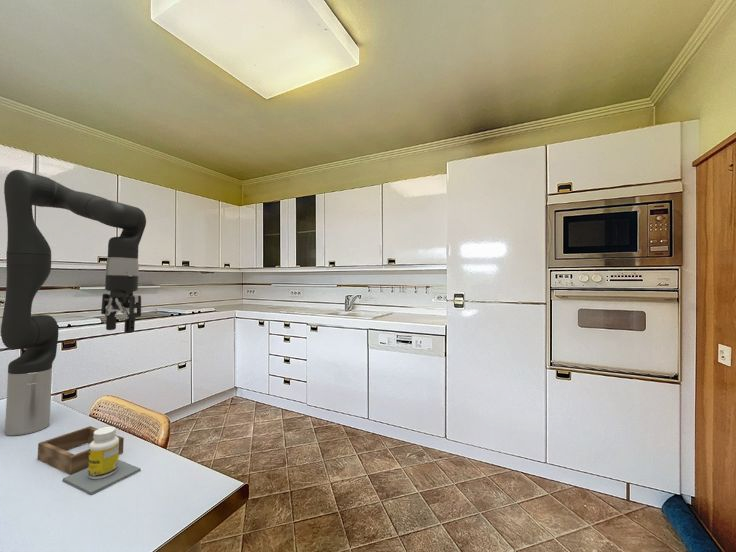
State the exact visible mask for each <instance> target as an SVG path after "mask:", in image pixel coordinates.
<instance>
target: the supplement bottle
mask: <svg viewBox="0 0 736 552" xmlns="http://www.w3.org/2000/svg"><path fill="white" fill-rule="evenodd" d="M97 429H98V430H96V431H94V436H93V439H94V441H92V442H91V443H90V444H89V446H88V449H89V463H88V477H89V478H91V479H101V478H105V477H108V476H110V475H112V474H114V473H115V472H116V471H117V469H118V460H119V456H120V455H119V438H118V437H117V436H118V435H117V436H115V435H116V427H115V426H104V427H100V428H97Z"/></svg>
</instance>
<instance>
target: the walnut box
mask: <svg viewBox="0 0 736 552" xmlns="http://www.w3.org/2000/svg"><path fill="white" fill-rule="evenodd" d="M98 429H99V428H97V427H94V426H91V425H89V426H86V427H83V428H80V429H77V430H74V431H71V432H69V433H64V434H62V435H59V436H56V437H53V438H50V439H46V440H44V441H41V442H38V445H37V459H36V460H37V461H40V462H41V463H44V464H46V465H48V466H50V467H53V468H54V469H57V470H59V471H61V472H63V473H65V474H67V475H68V476H70V475H72V474H74V473H77V472H79V471H81V470H84V469H86V468H88V463H89V448H88V449H86V450H83V451H80V452H78V453H72V452H69V450H72V449H75V448H78V447H80V446H83V445H86V444H89V445H90V443H91V442H92V441H94V439H93V436H94V431H96V430H98ZM115 436H117V437H118V438H119V455H118V456H120V455H122V453H123V454H124V441H125V439H124V437H123V436H120V435H118V434H115Z"/></svg>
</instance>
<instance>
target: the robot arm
mask: <svg viewBox="0 0 736 552" xmlns="http://www.w3.org/2000/svg"><path fill="white" fill-rule="evenodd" d="M3 188H4V189H3V194H4V203H5V212H6V222H7V223H6V224H7V226H6V227H7V241H6V243H7V245H6V286H5V287H6V289H5V300H4V307H3V312H2V318H1V324H0V325H1V326H0V336H1V341H2V343H3V345H4V346H5V347H6V348H7V349H9V350H14V351H15V350H16V351H17V350H23V349H26V350H25V352H24V353H22V354H21V355H20V356H18V357H17V358H15V359H14V360H12V361H10V362H9V363H8V364H7V365H8V366H7V386H6V400H5V401H6V402H5V403H6V404H5V407H6V408H5V420H4V421H5V422H4V424H5V425H4V434H5V435H6V436H21V435H27V434H28V435H29V434H31V433H36V432H39V431H42V430H44V429H47V428H48V427H49V426H50V424H51V423H50V421H51V420H50V419H51V403H52V402H51V401H52V380H53V379H52V378H53V363H54V361H55V359H56V357H57V351H58V350H57V349H58V342H59V324H58V321H56V319H55V318H54V317H53V316H51V315H49V314H37V315H32V307H33V301H34V298H35V297H36V295H37V293H38V292H39V291H40V289H41V288H42V287H43V285H44V284H45V282H46V281H47V280H48V278H49V276H50V274H51V271H52V249H51V246H50V244H49V243H48V241H47V239H46V238H45V236H44V235H43V233H42V232H41V230H40V229H39V228H38V226H37V224H36V222H35V219H34V214H33V213H34V212H33V206H36V207H39V208H44V207H45V208H54V209H63V210H67V211H70V212H72V213H73V214H75V215H77V216H79V217H83V218H86V219H89V220H91V221H96V222H98V223H101V224H103V225H106V226H108V227H113V228H117V229H121V233H120V235H119V236H113V237H110V238H109V239H108V244H107V245H108V246H107V261H106V264H105V280H104V281H105V282H104V283H105V284H104V289H105V290H106V291H107V292H110V293H103V294H102V299H101V310H100V311H101V312H100V314H101V315H104V317H106V321H105V329H106V331H113V330H116V329H117V316H118V313H119V312H120V313H121V314H123V316H124V329H123V330H124V333H126V334H130V333H131V334H132V333H134V332H135V325H136V319H137V318H141V316H142V296H141V295H134V292H136V291H138V289H139V271H140V269H139V268H140V264H139V245H140V242H141V241H142V237H143V235H144V232H145V228H146V226H147V216H146V214H145V212H144V210H142V209H141V208H139V207H137V206H134V205H133V206H132V205H129V204H126V203H123V202H119V201H115V200H111V199H107V198H105V197H103V196H100V195H99V196H98V195H96V194H93V193H92V194H91V193H88V192H83V191H78V190H74V189H71V188H69V187H66V186H65V185H63V184H61V183H59V182H57V181H55V180H54V179H51V178H49V177H47V176H44V175H40V174H36V173H33V172H30V171H25V170H22V169H21V170H20V169H15V170H11V171H10V172H9V173H8V174H7V175H6V177H5V180H4V184H3Z"/></svg>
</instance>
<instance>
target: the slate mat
mask: <svg viewBox="0 0 736 552" xmlns="http://www.w3.org/2000/svg"><path fill="white" fill-rule="evenodd" d="M139 472H141V468H140V467H138V466H135V465H133V464H130V463H129V462H125V461H123V460H120V459H118V469H117V471H116V472H115V473H114V474H112V475H110V476H108V477H105V478H101V479H91V478H89V477H88V468H86V469H84V470H81V471H79V472H77V473H74V474H72V475H67V476H66V477H63V478H62V482H64V483H66V484H68V485H69V486H72V487H73V488H75V489H77V490H79V491H81V492H83V493H86V494H87V495H89V496H93V495H95V494H97V493H100V492H101V491H103V490H105V489H107V488H110V487H111V486H114V485H115V484H117V483H119V482H121V481H123V480H126V479H127V478H129V477H132V476H134V475H135V474H138V473H139Z"/></svg>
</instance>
